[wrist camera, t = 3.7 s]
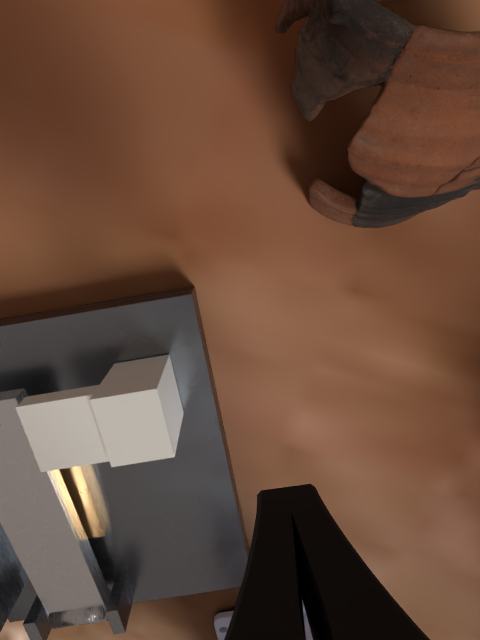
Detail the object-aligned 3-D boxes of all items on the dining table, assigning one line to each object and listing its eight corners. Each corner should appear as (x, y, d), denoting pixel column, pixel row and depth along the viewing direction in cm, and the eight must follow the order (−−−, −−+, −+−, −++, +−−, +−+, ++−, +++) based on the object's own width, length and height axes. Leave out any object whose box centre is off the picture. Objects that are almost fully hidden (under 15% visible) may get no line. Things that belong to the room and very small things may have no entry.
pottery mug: (238, 203, 17) (225, 25, 9) (315, 43, 19) (360, -224, 11) (505, 305, 16) (766, 200, 8) (561, 121, 18) (820, -118, 10)
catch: (183, 412, 18) (174, 457, 15) (68, 431, 18) (36, 479, 15) (169, 354, 17) (156, 388, 14) (48, 374, 17) (9, 412, 14)
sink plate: (251, 560, 23) (256, 633, 19) (23, 596, 23) (-17, 674, 19) (194, 286, 18) (185, 310, 14) (-99, 336, 18) (-187, 373, 14)
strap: (116, 599, 21) (109, 627, 20) (63, 607, 21) (52, 635, 20) (28, 384, 16) (11, 402, 15) (-40, 395, 16) (-63, 414, 15)
